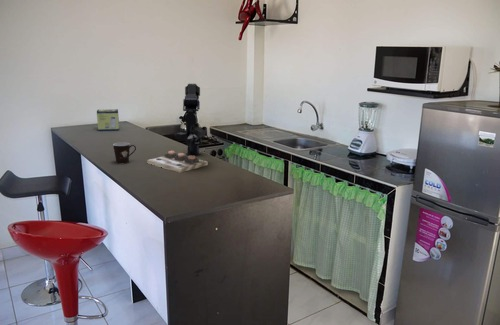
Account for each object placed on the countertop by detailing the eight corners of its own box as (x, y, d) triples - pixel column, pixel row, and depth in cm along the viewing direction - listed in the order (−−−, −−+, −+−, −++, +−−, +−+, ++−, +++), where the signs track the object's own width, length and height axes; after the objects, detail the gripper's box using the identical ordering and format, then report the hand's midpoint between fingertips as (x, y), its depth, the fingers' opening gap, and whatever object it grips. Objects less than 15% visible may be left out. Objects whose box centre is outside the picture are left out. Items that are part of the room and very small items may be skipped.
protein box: (98, 129, 302) (97, 109, 298) (119, 128, 306) (118, 109, 302) (97, 131, 292) (96, 111, 288) (119, 130, 297) (118, 110, 293)
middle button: (181, 156, 211) (181, 152, 210) (186, 157, 209) (186, 153, 208) (176, 157, 208) (176, 153, 207) (181, 158, 206) (181, 154, 205)
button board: (175, 157, 222) (174, 150, 221) (207, 165, 207) (207, 158, 206) (147, 163, 207) (146, 156, 206) (180, 172, 192) (179, 165, 191)
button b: (191, 158, 206) (191, 155, 206) (196, 159, 204) (196, 156, 204) (186, 159, 203) (186, 156, 203) (191, 161, 201) (191, 157, 201)
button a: (171, 153, 215) (171, 150, 215) (176, 154, 213) (176, 151, 213) (166, 154, 213) (166, 151, 212) (171, 155, 211) (171, 152, 210)
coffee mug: (113, 164, 203) (112, 146, 200) (114, 160, 211) (113, 142, 208) (136, 163, 206) (135, 145, 203) (136, 159, 214) (135, 142, 211)
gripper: (189, 125, 187) (189, 156, 191) (214, 121, 201) (214, 149, 205) (173, 122, 193) (174, 152, 197) (199, 118, 207) (199, 146, 211)
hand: (191, 150), depth 202 cm, fingers closed
